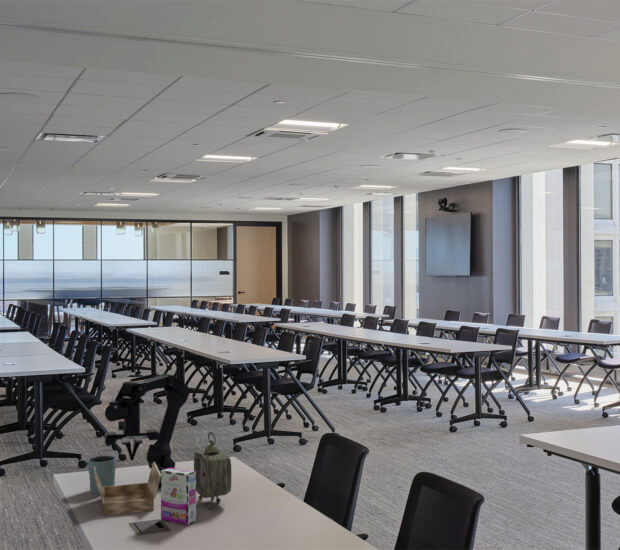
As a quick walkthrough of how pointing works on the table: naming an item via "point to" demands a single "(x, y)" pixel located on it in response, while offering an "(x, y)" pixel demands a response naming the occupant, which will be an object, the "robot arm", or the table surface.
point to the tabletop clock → (212, 472)
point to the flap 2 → (154, 479)
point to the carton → (127, 499)
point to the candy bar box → (178, 496)
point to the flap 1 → (99, 484)
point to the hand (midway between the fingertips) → (131, 460)
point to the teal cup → (101, 471)
